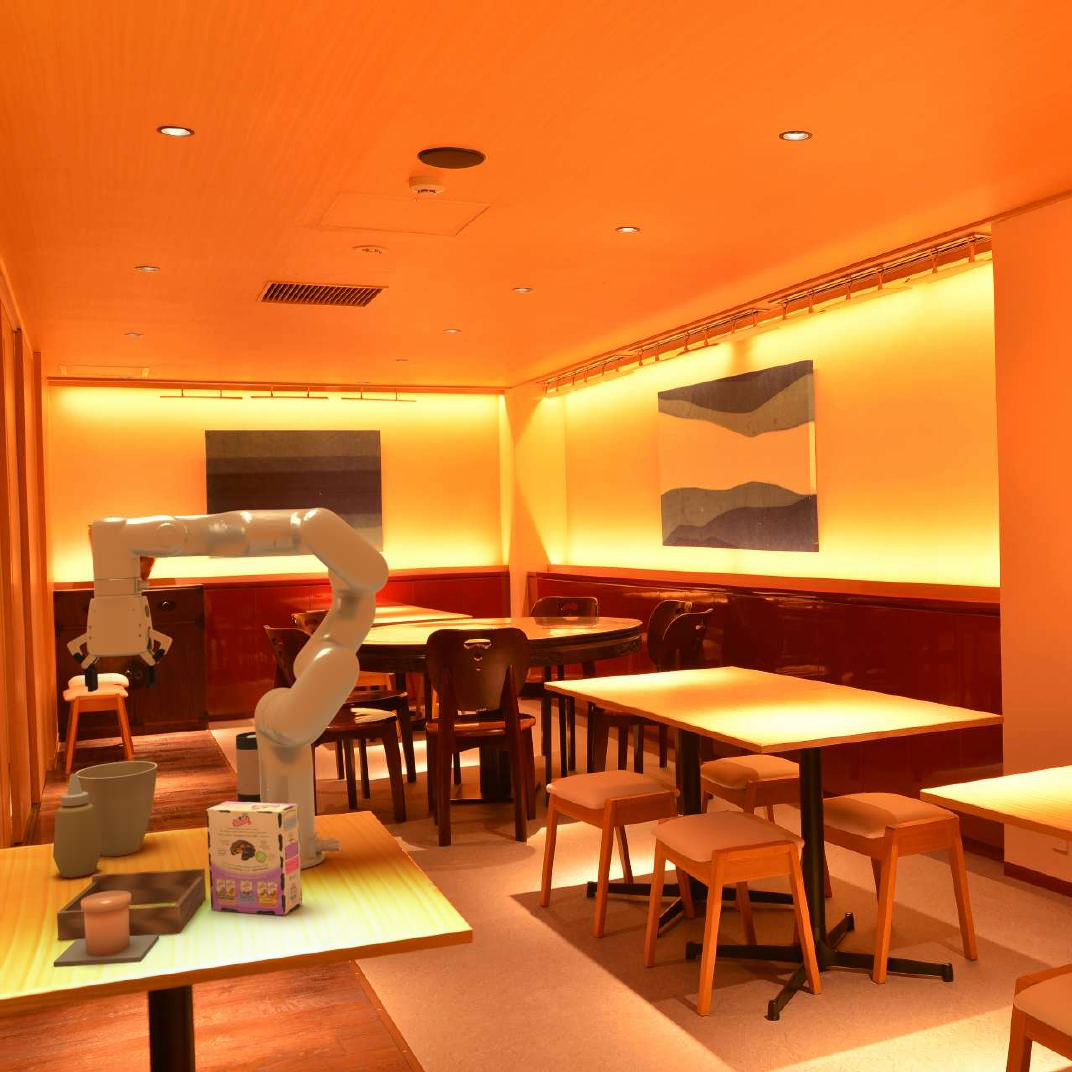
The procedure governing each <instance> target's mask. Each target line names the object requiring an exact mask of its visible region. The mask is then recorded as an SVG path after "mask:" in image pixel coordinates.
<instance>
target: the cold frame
mask: <svg viewBox="0 0 1072 1072" xmlns="http://www.w3.org/2000/svg"><path fill="white" fill-rule="evenodd" d="M205 870H206V869H205V868H195V869H194V868H193V869H191V868H190V869H172V870H171V869H170V870H155V871H154V870H153V871H137V872H136V871H135V872H120V873H119V872H117V873H99V874H93V875H91V879H92V882H91V883H90V884H89V885H87V886H86V887H85V888H84V889H83V890H82V891H80V892H79V893H78V894H76V896H75V897H74V898H73V899H71V900H70V901H69V902H68V903H67V904H66V905H64V906H63V907H62V908H61V909H60V910H59V911H58V912H56V920H57V921H56V924H57V926H56V927H57V940H58V941H61V940H62V941H63V940H77V939H85V919H84V911H82V910H81V900H82V899H83V898H85V897H87V896H89V895H92V894H96V893H100V892H106V891H127V892H130V893H131V903H130V904H129V905H130V906H131V905H132V906H133V905H147V904H149V906H133V907H129V929H130V936H142V935H165V934H166V935H167V934H180V933H181V932H182V931H183V929H184V928H185V926H186V925H188V923H189V921H190V920H191V919H192V918H193V917H194V915H195V913H197V911H198V910H199V908H200V907H201V906H202V904H203V903H204V902H205V901H206V899H207V893H206V892H207V891H206V871H205ZM164 903H165V904H166V903H175V904H168V905H167V904H166V905H152V906H150V904H164Z"/></svg>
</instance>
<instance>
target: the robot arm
mask: <svg viewBox="0 0 1072 1072" xmlns="http://www.w3.org/2000/svg"><path fill="white" fill-rule="evenodd" d="M91 541H92V542H91V543H92V544H91V547H92V549H91V550H92V568H93V569H92V570H93V571H92V572H93V596H94V597H93V598H90V601H89V607H88V614H87V625H86V632H85V633H83V634H81V635H80V636H78V637H76V638H75V639H72V640H71V641H69V642H68V643H67V644H66V646H67V648H68V650H69V652H70V654H71V655H72V658H73V659H74V660H75V661H76V662H77V663H78V664H79V665H80V666H81V668H82V669H84V687H85V688H86V687H87V692H88V693H93V692H95V691H98V690H99V680H98V679H99V674H98V667H97V666H96V665H95V664H96V663H97V661H98V660H99V659H100V657H101V658H105V657H122V656H123V657H125V656H126V657H128V656H140V657H141V658H142V660H144V661H145V662H146V665H145V666H144V679H145V680H144V682H145V685H144V686H145V689H146V690H152V689H153V688H155V687H156V684H157V683H158V664H159V663H160V661H162V659H163V658H164V657H165V656H166V655H167V653H168V650H169V648H170V646H171V645H172V642H173V639H172V637H170V636H167V635H166V634H164V633H161V632H159V631H158V630H154V629H153V622H152V614H151V612H150V611H151V609H150V604H149V601H148V597H147V595H142V593H143V591H145V590H149V589H150V582H149V581H146V580H143V578H142V577H141V557H149V558H151V559H152V558H154V559H159V558H160V559H167V558H179V557H180V558H185V557H223V558H231V559H233V558H235V559H237V558H238V559H239V558H257V557H258V558H264V557H286V556H287V557H289V556H290V557H291V556H294V557H295V556H312V555H314V556H315V558H317V559H318V560H319V561H320V562H321V563H322V564H323V565H324V566H325V567H327V577H328V578H327V579H328V580H329V584H330V587H331V591H332V600H331V601H332V602H331V605H330V608H329V610H328V612H327V613H326V615H325V617H324V618H323V620H322V621H321V623H320V624H319V626H318V627H317V628H316V630H315V631H314V632H313V634H312V635H311V636H310V638H309V639H308V640H307V642H306V643H305V644H304V646H303V647H302V648H301V650H300V651H299V652H298V654H297V655H296V657H295V660H294V661H293V666H292V667H293V674H294V677H295V679H296V680H295V682H294V683H293V685H292V686H291V688H288V687H278V688H273V689H272V690H269V691H267V692H266V693H265V694H264V695H262V697H261V698H260V699H259V701H258V702H257V704H256V708H255V710H254V716H253V717H254V720H253V723H254V732H256V739H257V745H258V754H259V770H260V799H261V803H284V804H298V822H299V843H300V867H301V870H302V869H307V868H311V867H314V866H316V865H318V864H321V863H322V862H323V861H325V858H326V852H327V851H328V852H339V851H340V850H341V840H340V839H336V838H334V837H333V838H322V837H320V831H316V818H315V817H316V816H315V815H316V814H315V792H314V791H315V789H314V788H315V787H314V763H313V762H314V761H313V751H312V746H311V744H313V743H314V742H315V741H317V739H319V738H320V737H321V735H323V733H324V732H325V730H326V729H327V727H328V726H329V725H330V723H331V722H332V721H333V720H334V718H335V717H336V715H337V714H338V712H339V710H340V709H341V708H342V706H343V705H344V703H345V702H346V701H347V699H348V698H349V696H350V694H351V693H352V691H353V690H354V689H355V687H356V684H357V682H358V679H359V675H360V663H359V659H358V657H357V655H356V654H357V652H358V651H359V649H360V648H361V646H362V644H363V642H364V641H365V639H366V638H367V636H368V634H369V633H370V631H371V630H372V627H373V625H374V622H375V618H376V611H377V603H376V602H377V601H376V593H378V592H380V591H381V590H382V589H383V588H384V587H385V585H386V584H387V582H388V580H389V575H390V574H389V573H390V572H389V566H388V562H387V560H386V559H385V557H384V556H383V554H382V553H381V552H380V551H378V550H377V548H375V547H374V546H373V545H372V544H371V543H370V542H368V541H367V539H365V538H364V537H363V536H362V535H361V534H359V533H358V532H357V531H356V530H355V529H354V528H353V527H352V526H351V525H349V524H348V523H347V522H346V521H345V520H343V519H342V518H341V517H340V516H339V515H337V514H336V513H335V512H334V511H332V510H330V509H329V508H324V507H314V508H302V509H301V508H299V509H297V508H296V509H253V510H252V509H246V510H244V509H243V510H242V509H241V510H233V511H232V510H231V511H226V512H221V513H213V514H201V515H171V514H165V513H164V514H163V513H162V514H157V515H156V514H155V515H150V516H143V517H135V518H134V517H131V516H130V517H129V516H108V517H100V518H96V519H95V520H93V521H92V524H91ZM154 640H155V641H157V642H159V643H160V646H159V649H158V650H156V652H154V651H153V649H154ZM85 643H86V650H87V653H88V654H87V655H86V654H84V653H83V652H82V651H81V648H80V647H81V645H83V644H85Z"/></svg>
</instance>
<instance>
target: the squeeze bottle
mask: <svg viewBox="0 0 1072 1072" xmlns="http://www.w3.org/2000/svg"><path fill="white" fill-rule="evenodd" d="M67 786H68V787H67V791H66V793H64V794H62V795H61V796H60V805H61V806H59V807H58V808H57V809H56V810H55V820H54V821H55V822H54V835H53V849H52V851H53V853H52V858H53V860H54V862H55V864H56V865H55V866H56V867H57V869H58V870H57V871H58V872H59V874H60V877H62V878H70V879H71V878H80V877H81V878H82V877H84V876H89V875H91V874H93V873H94V872H95V871H96V870H97V866H98V863H99V859H100V857H101V854H100V853H101V847H100V840H99V833H98V827H97V820H96V813H95V807H94V806H93V805H92V804H90V803H87V802H89V794H88V792H82V789H81V785H80V782H79V778H78V775H77V774H76V773H70V776H69V780H68V785H67Z"/></svg>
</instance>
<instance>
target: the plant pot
mask: <svg viewBox="0 0 1072 1072" xmlns="http://www.w3.org/2000/svg"><path fill="white" fill-rule="evenodd" d="M157 772H158V764H157V763H156V762H152V761H142V760H141V761H140V760H138V761H137V760H134V761H133V760H132V761H118V762H117V761H116V762H110V763H104V764H99V765H98V764H97V765H94V766H89V767H86V768H83V769H80V770H78V771H76V772H75V774H77V775H78V778H79V782H80V785H81V789H82V792H88V794H89V802H87V803H90V804H92V805H93V806H94V807H95V813H96V820H97V827H98V833H99V840H100V847H101V853H100V856H104V857H120V856H125V855H131V854H133V853H137V852H139V851H140V850H141V848H142V846H143V843H144V839H145V836H146V832H147V829H148V826H149V821H150V817H151V814H152V808H153V803H154V797H155V791H156V782H157Z"/></svg>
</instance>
